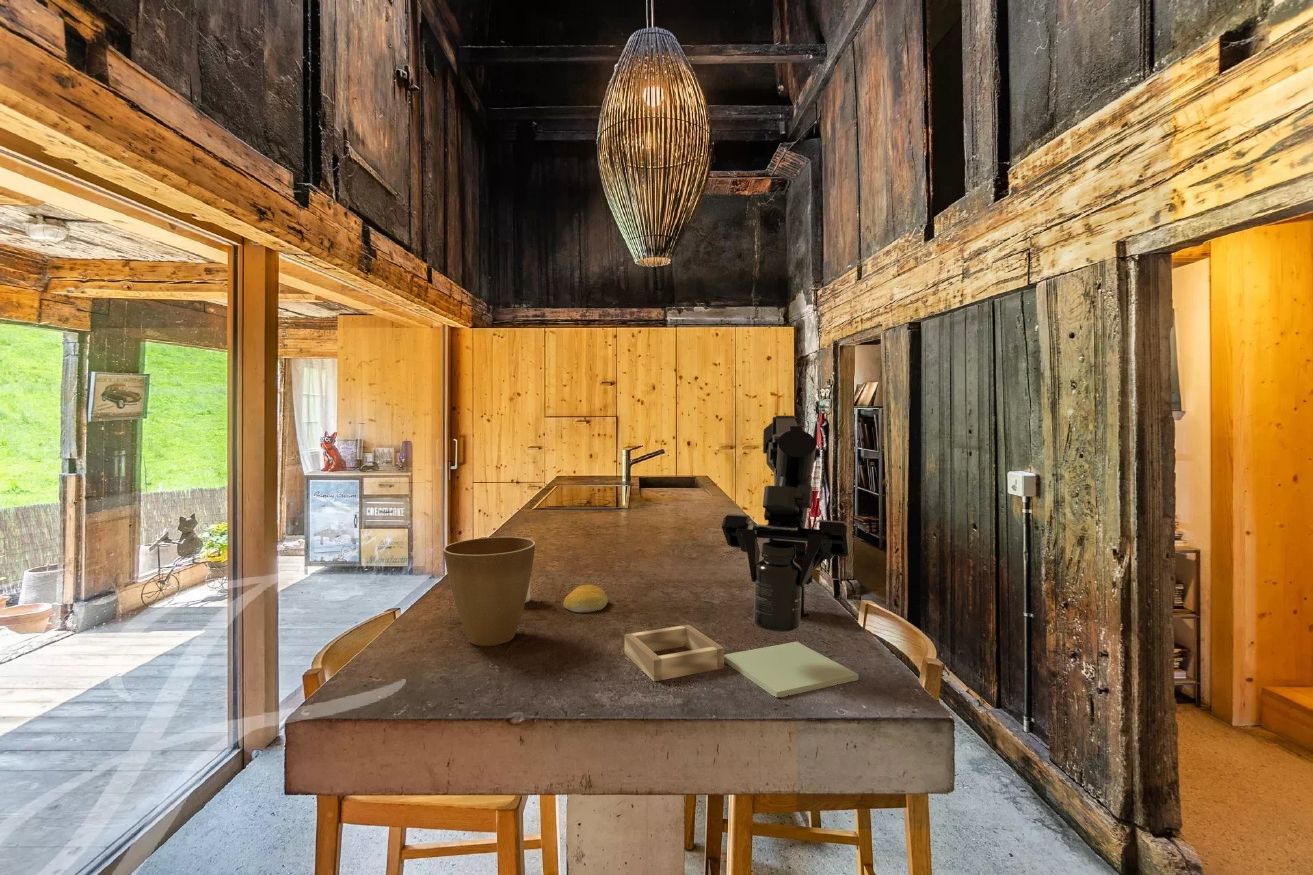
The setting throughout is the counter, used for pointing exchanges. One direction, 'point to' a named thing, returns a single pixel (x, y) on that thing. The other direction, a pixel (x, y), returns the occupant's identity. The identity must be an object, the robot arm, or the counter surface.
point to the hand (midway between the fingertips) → (776, 582)
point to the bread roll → (586, 599)
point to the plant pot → (490, 585)
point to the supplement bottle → (777, 588)
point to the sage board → (789, 669)
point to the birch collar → (668, 666)
